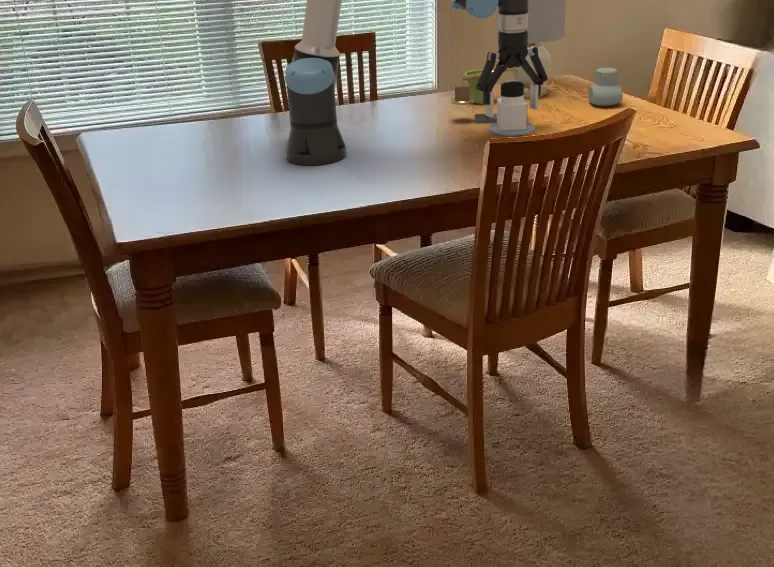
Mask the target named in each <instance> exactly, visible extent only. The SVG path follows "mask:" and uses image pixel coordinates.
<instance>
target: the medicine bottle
mask: <svg viewBox="0 0 774 567" xmlns="http://www.w3.org/2000/svg"><path fill="white" fill-rule="evenodd" d="M496 114H497V125H498V127H499V129H500V131H512V130H526V129H527V123H528V102H527V100H526V98H524V84H523V83H522V82H519V81H515V80H507V81H504V82H502V83H501V84H500V97H499V98H497V99H496Z"/></svg>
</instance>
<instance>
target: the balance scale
mask: <svg viewBox="0 0 774 567" xmlns="http://www.w3.org/2000/svg"><path fill="white" fill-rule="evenodd" d="M494 70H495V69H493V70H492V73H493V71H494ZM514 70H516V81H517V74H518V68H517V67H513V68H507V69H506V71H504V72H503V73H502V74H505V73H510V72H509V71H514ZM492 73H491V74H492ZM481 74H482V73H477V74H472V75H467V76H465V75H463V76H461V79H460V80H461V83H455V85H454V97H453V98H451V99H450V104H453V105H457V106H458V105H459V106H461V105H462V106H463V105H470V104H474V103H473V102H474V99H473V98H471V97H470V83H468V82H467V83H464V82H465V81H467V80H470V79H475V78H480V76H481ZM490 76H491V75H490ZM491 92H493V90H491ZM527 92H528V88H527V87H524V93H527ZM495 123H497V113H493V117H492V118H491V117H488V116H486V113H474V124H495Z"/></svg>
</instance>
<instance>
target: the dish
mask: <svg viewBox="0 0 774 567" xmlns="http://www.w3.org/2000/svg"><path fill="white" fill-rule="evenodd" d="M535 129H536V128H535V125H534V124H533V123H530V122H527V129H526V130H512V131H500V129H499V127H498V125H497V123H491V125H489V127H488V130H489V133H491V134H492V135H495V136H500V137H517V136H516V135H523V136H525V135H524V134H528V133H531V132H532V133H533V131H534V132H535ZM532 133H531V134H532ZM528 135H529V134H528Z"/></svg>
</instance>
